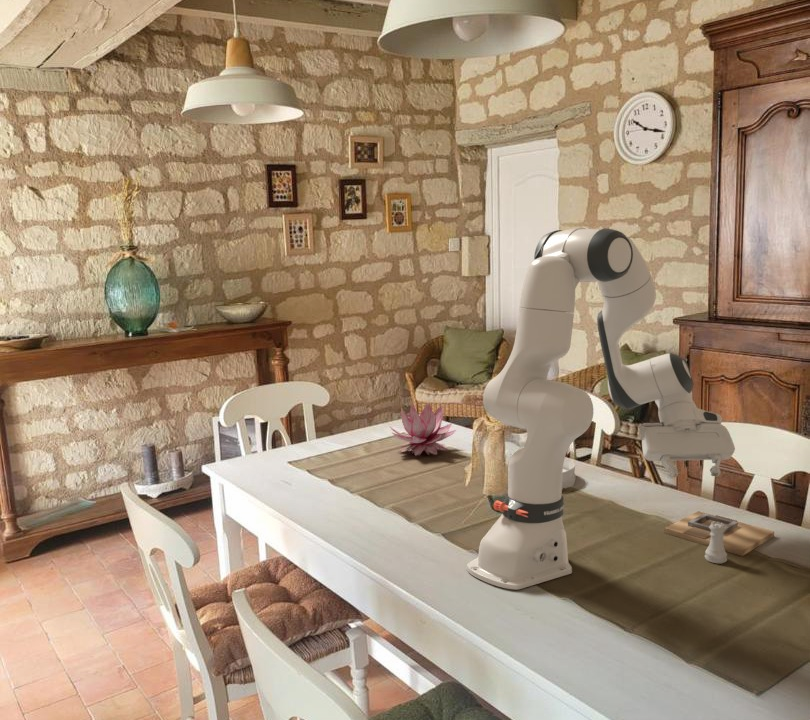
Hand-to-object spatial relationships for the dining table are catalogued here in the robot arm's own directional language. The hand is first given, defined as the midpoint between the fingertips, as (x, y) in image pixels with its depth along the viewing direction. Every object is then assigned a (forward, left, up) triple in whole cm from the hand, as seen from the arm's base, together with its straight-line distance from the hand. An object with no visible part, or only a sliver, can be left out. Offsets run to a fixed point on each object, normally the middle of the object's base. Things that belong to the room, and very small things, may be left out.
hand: (695, 475), depth 166 cm
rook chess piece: (-8, -9, -15) cm, 19 cm away
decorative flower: (+5, +95, -15) cm, 96 cm away
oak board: (+6, -3, -15) cm, 16 cm away
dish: (+9, +52, -15) cm, 55 cm away
